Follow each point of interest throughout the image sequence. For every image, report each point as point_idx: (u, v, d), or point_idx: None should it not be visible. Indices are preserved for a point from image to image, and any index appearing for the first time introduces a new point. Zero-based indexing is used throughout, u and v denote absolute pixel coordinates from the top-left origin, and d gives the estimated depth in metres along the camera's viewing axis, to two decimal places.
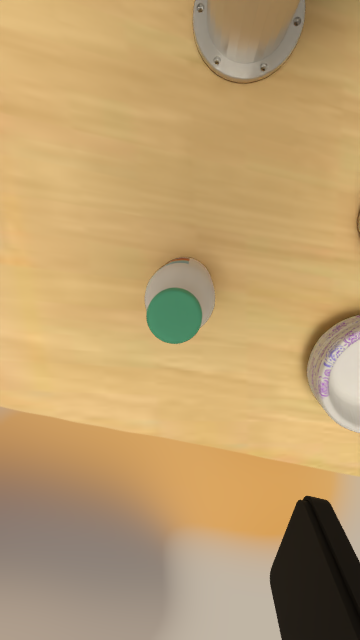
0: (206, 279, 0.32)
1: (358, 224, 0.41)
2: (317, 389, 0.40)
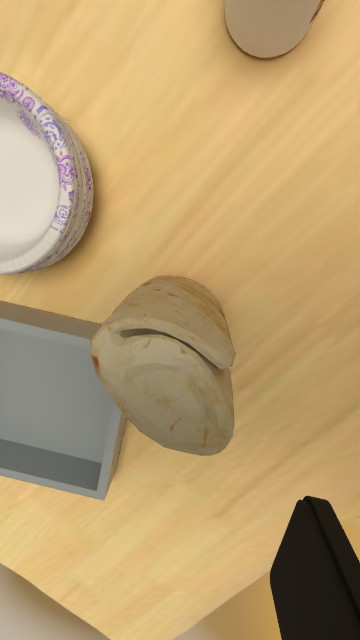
0: None
1: None
2: (7, 76, 0.23)
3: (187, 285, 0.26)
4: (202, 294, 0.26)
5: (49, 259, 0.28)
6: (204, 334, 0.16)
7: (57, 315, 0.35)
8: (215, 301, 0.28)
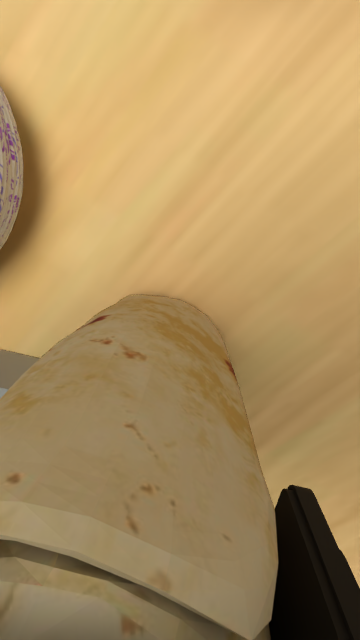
0: None
1: None
2: None
3: (171, 316, 0.16)
4: (196, 331, 0.16)
5: None
6: (201, 506, 0.06)
7: None
8: (217, 338, 0.18)
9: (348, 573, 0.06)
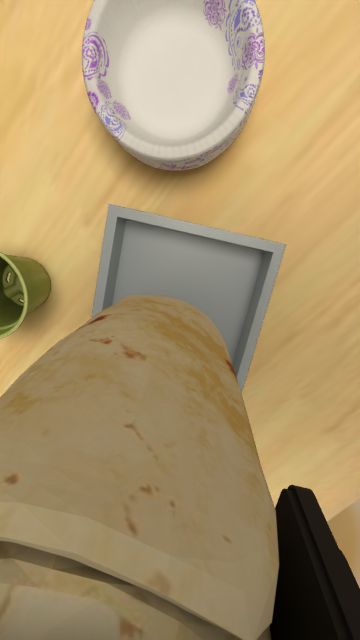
0: None
1: None
2: None
3: (171, 316, 0.15)
4: (197, 331, 0.16)
5: (218, 149, 0.29)
6: (201, 507, 0.06)
7: None
8: (217, 337, 0.18)
9: (348, 573, 0.06)
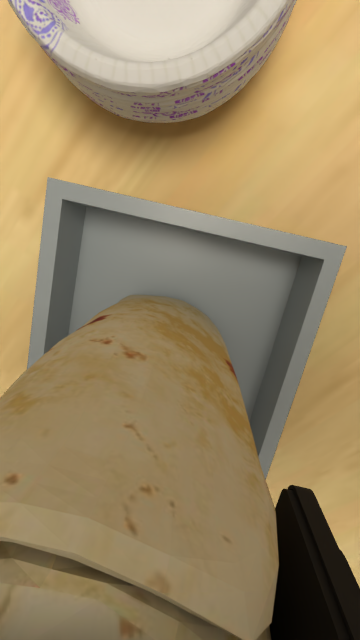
0: None
1: None
2: None
3: (171, 316, 0.15)
4: (197, 331, 0.16)
5: (235, 75, 0.16)
6: (201, 508, 0.06)
7: None
8: (217, 338, 0.18)
9: (348, 573, 0.06)
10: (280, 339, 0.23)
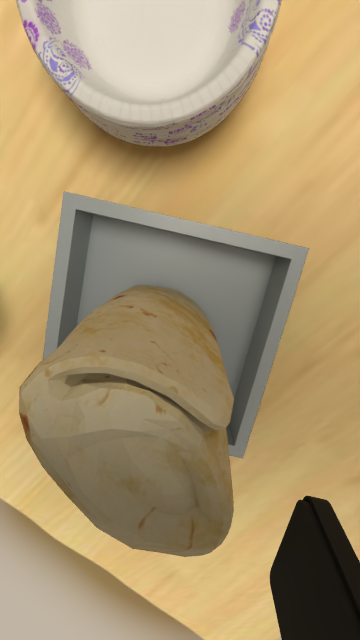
0: None
1: None
2: None
3: (170, 298, 0.21)
4: (188, 309, 0.21)
5: (216, 112, 0.20)
6: (191, 377, 0.11)
7: None
8: (204, 317, 0.23)
9: None
10: (259, 327, 0.28)
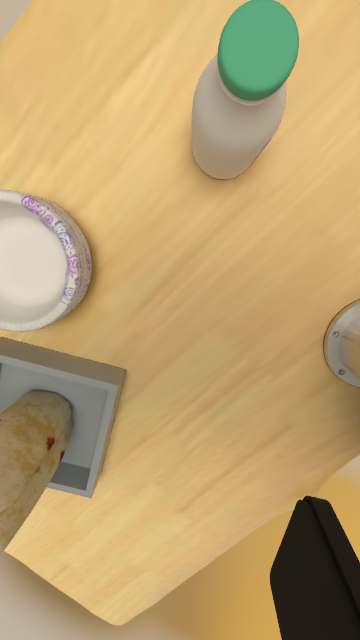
0: (240, 149, 0.26)
1: (57, 395, 0.45)
2: (33, 197, 0.33)
3: (31, 417, 0.38)
4: (41, 423, 0.38)
5: (57, 319, 0.37)
6: None
7: (58, 353, 0.44)
8: (58, 421, 0.40)
9: None
10: None
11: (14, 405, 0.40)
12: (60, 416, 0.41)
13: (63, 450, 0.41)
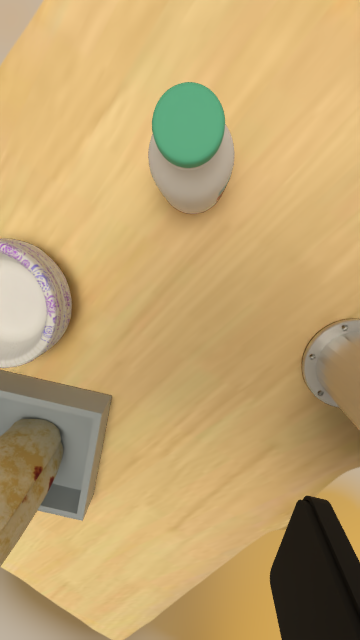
0: (194, 199, 0.27)
1: (47, 421, 0.47)
2: (11, 244, 0.35)
3: (19, 447, 0.40)
4: (29, 452, 0.40)
5: None
6: None
7: (47, 382, 0.46)
8: (46, 449, 0.42)
9: None
10: None
11: (4, 435, 0.42)
12: (49, 444, 0.43)
13: (52, 476, 0.43)
